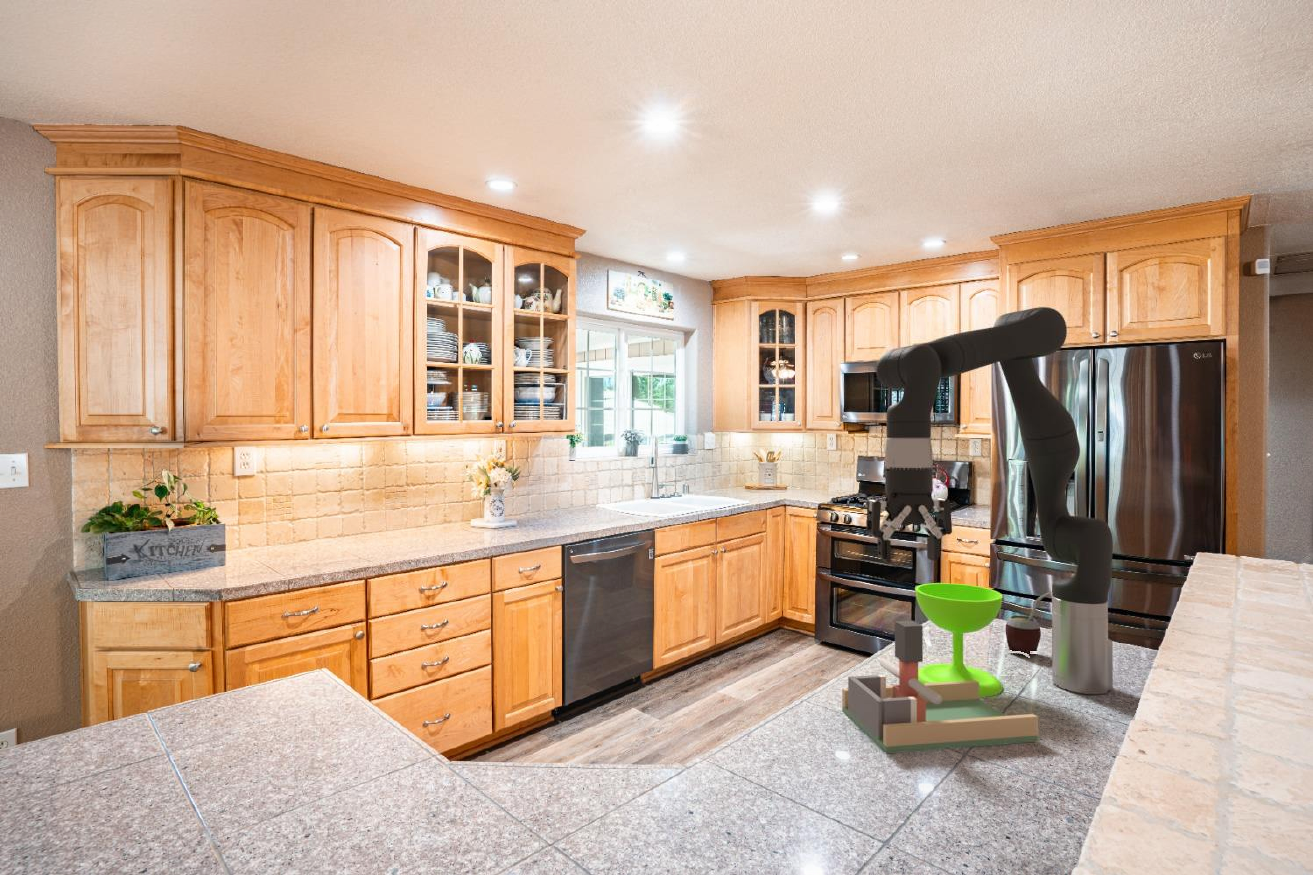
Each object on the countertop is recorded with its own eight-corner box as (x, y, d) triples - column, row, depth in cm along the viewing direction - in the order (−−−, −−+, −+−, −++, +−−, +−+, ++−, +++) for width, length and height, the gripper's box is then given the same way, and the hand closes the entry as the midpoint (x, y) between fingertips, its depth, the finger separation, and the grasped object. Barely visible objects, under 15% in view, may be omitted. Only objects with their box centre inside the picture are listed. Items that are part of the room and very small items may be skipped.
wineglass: (922, 693, 126) (922, 599, 126) (909, 665, 141) (909, 581, 141) (1014, 700, 122) (1013, 603, 122) (990, 670, 138) (990, 584, 138)
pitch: (975, 701, 121) (975, 664, 121) (1038, 741, 105) (1037, 697, 105) (842, 710, 117) (842, 671, 117) (886, 753, 102) (886, 707, 102)
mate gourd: (1000, 648, 152) (1000, 583, 152) (1036, 649, 151) (1035, 584, 151) (1014, 659, 145) (1014, 591, 145) (1052, 660, 144) (1051, 591, 144)
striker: (892, 699, 119) (892, 610, 119) (947, 741, 103) (946, 638, 103) (875, 700, 119) (875, 610, 119) (928, 743, 102) (927, 638, 102)
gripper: (935, 463, 116) (935, 555, 116) (858, 464, 114) (859, 558, 114) (960, 465, 108) (961, 563, 108) (879, 466, 106) (880, 566, 106)
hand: (909, 560), depth 111 cm, fingers open, 8 cm apart
